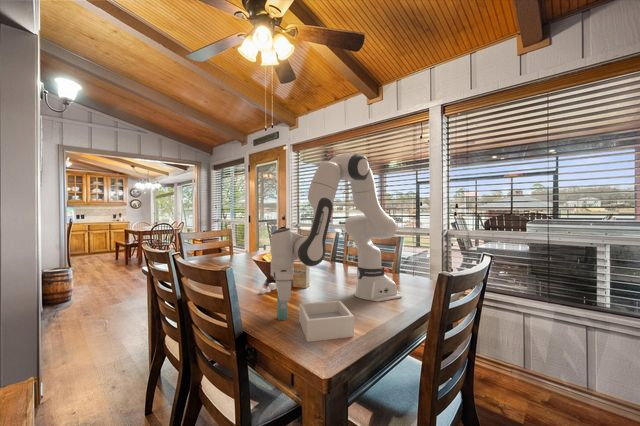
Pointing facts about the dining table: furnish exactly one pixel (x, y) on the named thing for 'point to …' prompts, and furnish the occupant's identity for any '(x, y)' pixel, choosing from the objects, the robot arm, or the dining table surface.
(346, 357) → the dining table surface
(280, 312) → the peg
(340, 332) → the peg box
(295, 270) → the supplement box
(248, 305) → the dining table surface
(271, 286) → the game pieces
